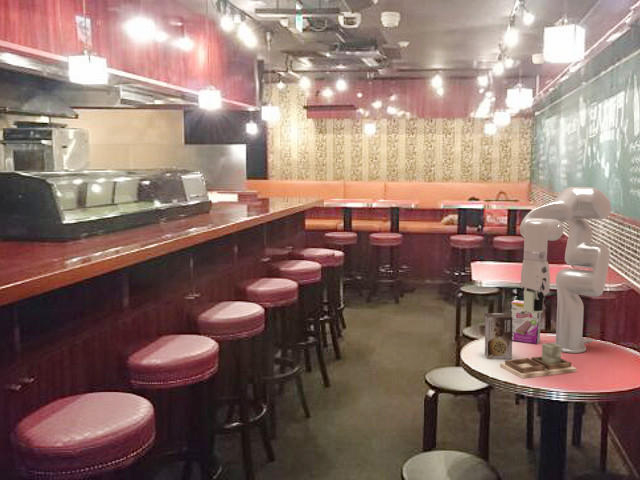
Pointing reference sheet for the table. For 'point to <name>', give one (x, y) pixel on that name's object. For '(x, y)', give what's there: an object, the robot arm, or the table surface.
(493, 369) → the table surface
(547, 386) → the table surface
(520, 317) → the candy bar box
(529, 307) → the sage block
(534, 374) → the socket base
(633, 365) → the table surface
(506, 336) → the cookie box
